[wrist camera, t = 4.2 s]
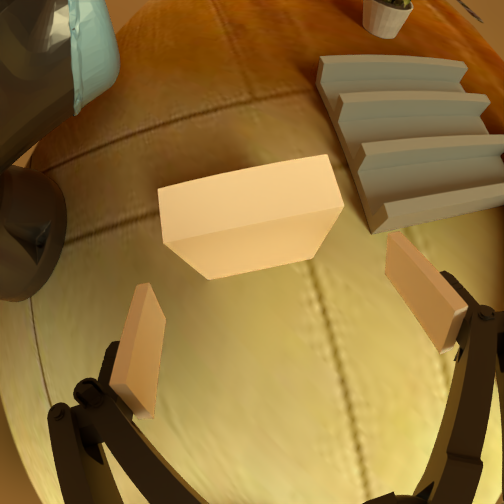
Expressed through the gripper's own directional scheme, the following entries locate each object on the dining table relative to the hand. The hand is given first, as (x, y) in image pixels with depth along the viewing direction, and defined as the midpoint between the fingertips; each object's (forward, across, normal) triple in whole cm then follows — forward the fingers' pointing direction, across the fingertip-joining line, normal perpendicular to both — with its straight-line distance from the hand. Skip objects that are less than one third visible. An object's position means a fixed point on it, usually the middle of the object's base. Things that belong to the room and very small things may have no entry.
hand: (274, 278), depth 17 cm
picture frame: (+10, 0, -4) cm, 11 cm away
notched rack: (+16, +20, +2) cm, 25 cm away
